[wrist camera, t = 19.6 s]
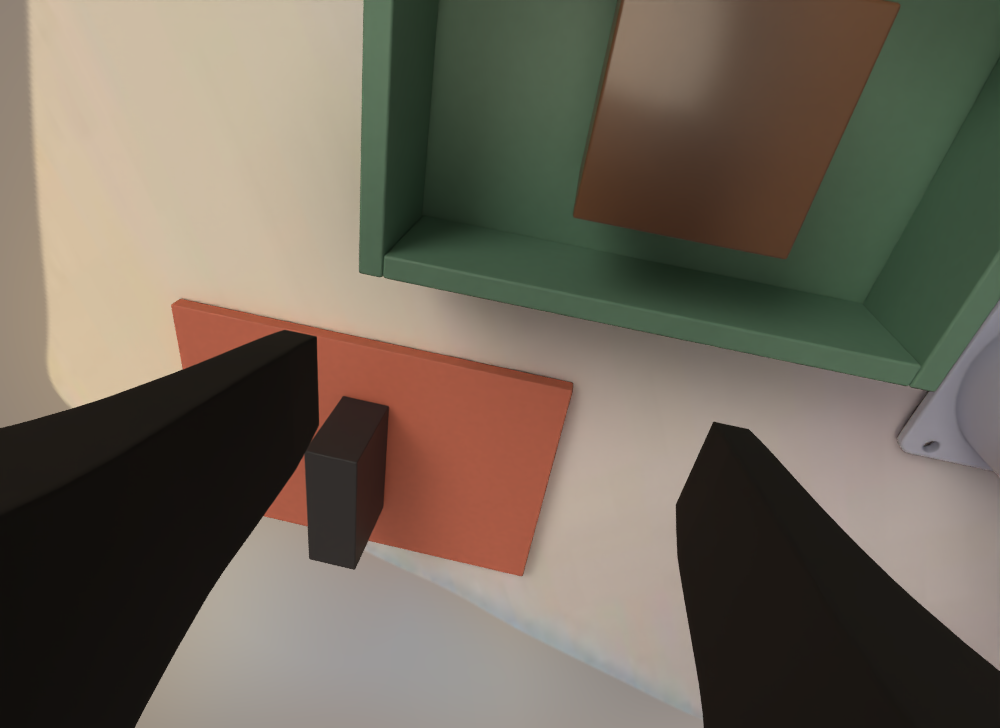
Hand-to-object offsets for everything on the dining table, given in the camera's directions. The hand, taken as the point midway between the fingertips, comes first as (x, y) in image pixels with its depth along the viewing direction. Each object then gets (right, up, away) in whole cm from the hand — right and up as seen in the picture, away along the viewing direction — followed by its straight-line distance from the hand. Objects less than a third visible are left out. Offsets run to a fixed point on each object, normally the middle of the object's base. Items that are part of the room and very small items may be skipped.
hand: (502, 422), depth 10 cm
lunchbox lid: (-6, -3, +15) cm, 16 cm away
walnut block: (+5, +9, +6) cm, 11 cm away
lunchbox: (+5, +9, +6) cm, 12 cm away
